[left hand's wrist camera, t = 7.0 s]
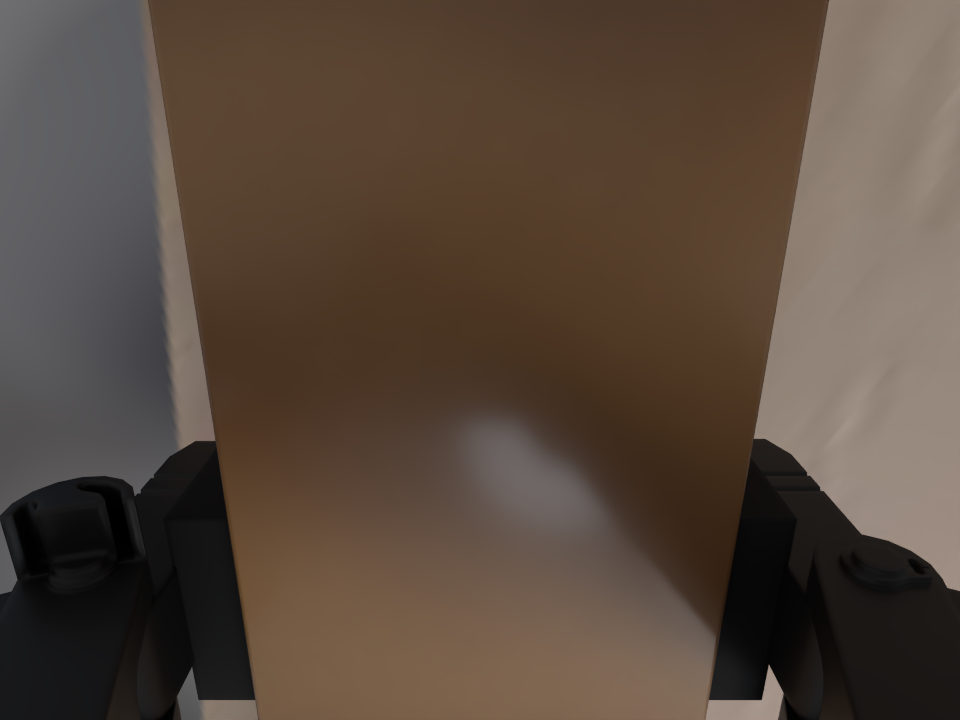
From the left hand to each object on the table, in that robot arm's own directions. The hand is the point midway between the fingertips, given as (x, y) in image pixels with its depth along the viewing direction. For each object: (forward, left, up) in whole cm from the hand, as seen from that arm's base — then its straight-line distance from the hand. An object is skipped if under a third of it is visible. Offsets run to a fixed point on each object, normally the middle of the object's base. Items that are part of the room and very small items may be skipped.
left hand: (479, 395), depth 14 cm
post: (+25, +11, -1) cm, 27 cm away
